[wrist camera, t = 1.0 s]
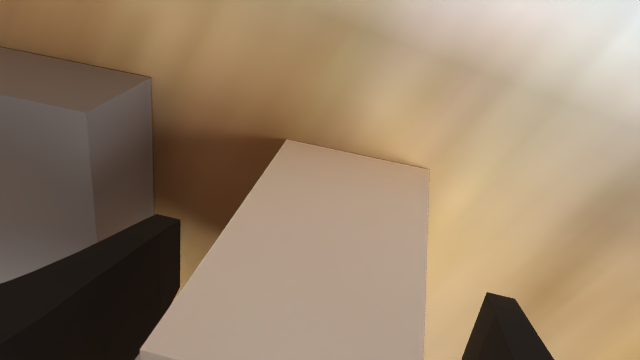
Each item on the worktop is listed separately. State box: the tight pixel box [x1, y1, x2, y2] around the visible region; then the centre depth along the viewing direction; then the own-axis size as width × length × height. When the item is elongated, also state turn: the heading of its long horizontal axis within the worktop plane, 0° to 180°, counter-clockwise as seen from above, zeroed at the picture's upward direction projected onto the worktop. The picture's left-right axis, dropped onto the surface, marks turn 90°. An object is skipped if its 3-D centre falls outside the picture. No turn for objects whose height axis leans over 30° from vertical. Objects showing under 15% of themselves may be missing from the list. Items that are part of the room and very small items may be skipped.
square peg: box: [140, 139, 430, 360], centre depth 11 cm, size 4×4×8 cm
